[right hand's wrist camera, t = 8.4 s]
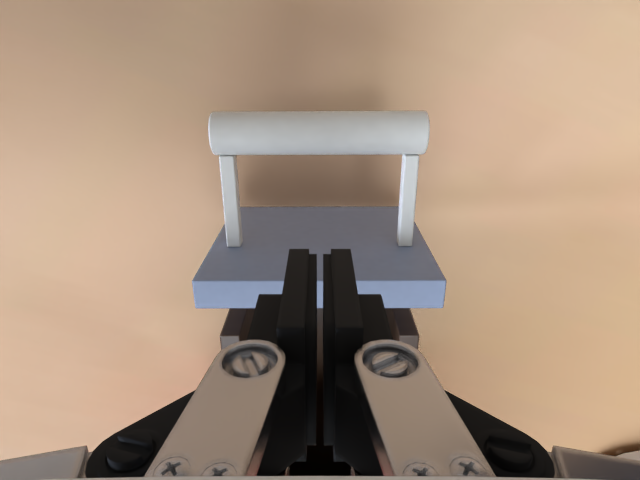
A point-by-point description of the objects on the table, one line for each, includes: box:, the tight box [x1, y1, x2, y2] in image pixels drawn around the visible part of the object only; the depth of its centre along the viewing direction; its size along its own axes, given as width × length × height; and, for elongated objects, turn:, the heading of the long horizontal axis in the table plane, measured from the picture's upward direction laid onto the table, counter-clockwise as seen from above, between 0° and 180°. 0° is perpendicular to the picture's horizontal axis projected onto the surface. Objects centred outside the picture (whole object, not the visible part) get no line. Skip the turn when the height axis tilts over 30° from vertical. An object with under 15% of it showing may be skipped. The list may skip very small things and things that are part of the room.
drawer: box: [192, 111, 446, 476], centre depth 23 cm, size 26×9×9 cm, turn 0°
